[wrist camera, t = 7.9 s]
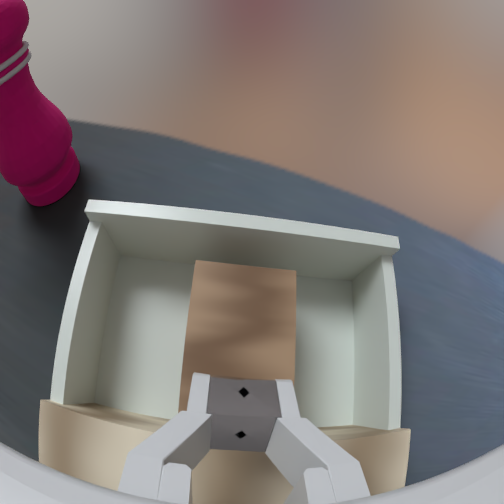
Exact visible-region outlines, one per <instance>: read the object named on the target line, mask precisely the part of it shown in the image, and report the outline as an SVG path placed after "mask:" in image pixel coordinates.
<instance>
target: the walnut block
mask: <svg viewBox="0 0 504 504" xmlns="http://www.w3.org/2000/svg"><path fill="white" fill-rule="evenodd" d="M295 348H296V271H295V270H285V269H275V268H266V267H256V266H247V265H237V264H228V263H219V262H210V261H201V260H196V261H195V267H194V274H193V281H192V288H191V296H190V303H189V311H188V319H187V327H186V336H185V344H184V354H183V363H182V373H181V384H180V396H179V408H178V413H179V412H180V411H187V406H188V400H189V394H190V388H191V382H192V376H193V373H194V372H195V373H202V374H209V375H210V377H211V374H212V375H220V376H229V377H238V378H253V379H274V380H275V379H285V380H291V381H292V382H293V386H294V378H295Z"/></svg>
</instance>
